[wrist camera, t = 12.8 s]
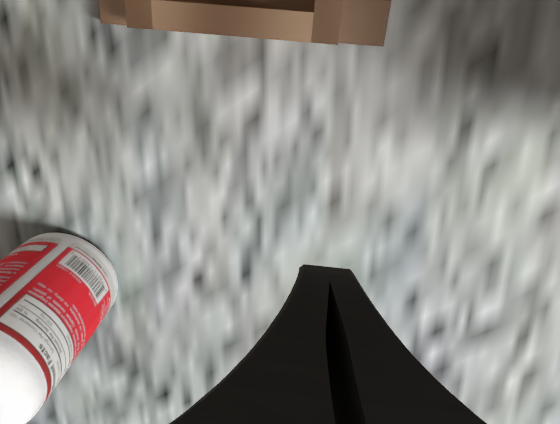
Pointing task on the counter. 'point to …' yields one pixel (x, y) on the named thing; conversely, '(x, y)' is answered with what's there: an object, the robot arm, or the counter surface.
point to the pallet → (258, 18)
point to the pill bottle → (47, 316)
